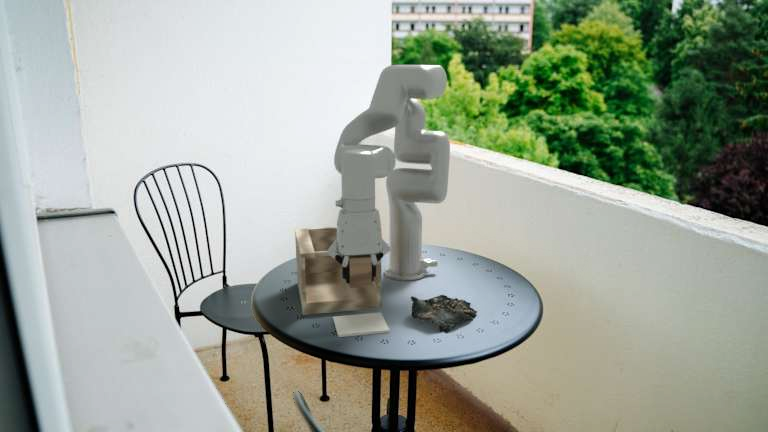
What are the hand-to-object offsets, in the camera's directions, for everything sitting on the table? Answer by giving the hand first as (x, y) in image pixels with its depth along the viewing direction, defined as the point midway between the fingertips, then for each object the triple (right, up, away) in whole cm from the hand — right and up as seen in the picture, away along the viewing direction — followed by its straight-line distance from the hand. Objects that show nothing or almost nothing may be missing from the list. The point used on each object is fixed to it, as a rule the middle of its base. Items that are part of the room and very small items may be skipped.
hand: (359, 279), depth 135 cm
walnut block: (0, -1, 0) cm, 1 cm away
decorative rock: (+21, -10, +9) cm, 25 cm away
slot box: (-7, -6, +22) cm, 24 cm away
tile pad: (0, -11, +3) cm, 12 cm away
